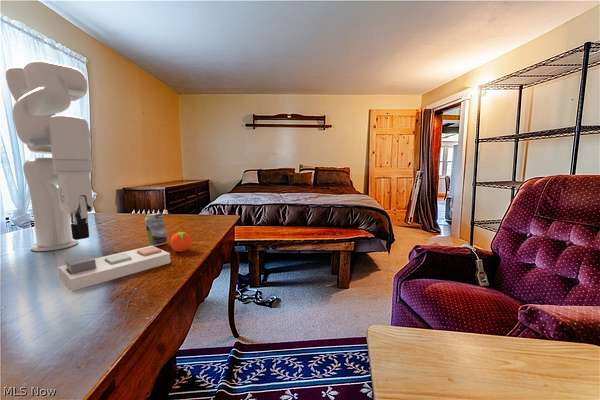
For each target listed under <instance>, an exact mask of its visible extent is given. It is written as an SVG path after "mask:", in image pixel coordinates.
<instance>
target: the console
mask: <svg viewBox="0 0 600 400" xmlns="http://www.w3.org/2000/svg"><path fill="white" fill-rule="evenodd" d="M149 247H153V246H152V245H149V246H144V247H141V248H135V249H131V250H126V251H122V252H118V253H113V254H109V255H106V256H105V255H103V256H100V257H95V258H94V259H95V263H96V269H92V270H88V271H84V272H80V273H76V274H72V275H70V274H69V273H68V272H67V267H66V264H65V265H60V266H58V267H57V268H58V274H59V275H58V276H59V278H60V280H61V279H62V280H63V281H62V280H61V281H62V282H63V283H64V284H65V286H67V287H68V288H69V290H70V291H71V290H72V292H73V291H77V290H81V289H84V288H88V287H91V286H95V285H99V284H101V283H104V282H108V281H111V280H116V279H119V278H122V277H125V276H129V275H134V274H136V273H139V272H143V271H146V270H149V269H153V268H157V267H160V266H163V265H167V264H171V252H168V251H165V250H163V249H161V252H160V253H156V254H152V255H148V256H142V255H140V254H138V253H137V250H140V249H144V248H149ZM122 253H125V254H127V255H129V256H131V260H128V261H124V262H120V263H116V264H112V265H110V264H109V263H107V262H106V261H105V257H109V256H114V255H118V254H122Z"/></svg>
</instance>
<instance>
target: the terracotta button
mask: <svg viewBox="0 0 600 400" xmlns="http://www.w3.org/2000/svg"><path fill="white" fill-rule="evenodd" d="M143 248H144V247H143ZM161 250H162V249H160V248H159V247H157V246H153V247H149V248H144V249H140V250H137V253H138V254H140V255H142V256H148V255H152V254H156V253H160V252H161Z"/></svg>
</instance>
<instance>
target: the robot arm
mask: <svg viewBox="0 0 600 400" xmlns="http://www.w3.org/2000/svg"><path fill="white" fill-rule="evenodd" d="M5 80H6V84H7V87H8V90H9V91H10V94H11V95H12V97H13V99H14V101H15V102H14V105H13V107H12V118H13V119H12V120H13V122H14V123H13V124H14V127H15V132H16V134H17V137H18V139H19V140H20V141H21V142H22V143H23V144H24V145H26V147H27V149H28V150H29V151H31V152H32V153H36V154H46V155H51V157H33V158H30V159H28V160H26V161H25V162H24V163H23V165H22V169H23V174H24V177H25V178H24V179H25V180H26V184H27V186H28V187H27V188H28V190H29V196H30V203H31V210H32V219H33V224H34V231H35V232H34V233H35V240H36V243H33V244H32V245H31V246H30V250H31V251H34V252H50V251H51V252H52V251H57V250H58V251H59V250H64V249H66V248H71V247H74V246H76V245H77V244H78V243H79V240H84V239H88V238H90V230H89V229H90V227H89V213H91V212H93V209H94V198H93V191H92V185H91V177H90V176H91V174H93V172H94V171H93V170H94V169H93V162H92V160H93V159H92V150H91V149H92V148H91V132H90V128H89V123H88V121H87V120H86V119H85V118H82V117H80V116H75V115H66V114H65V115H62V114H61V113H63V112H65V111H66V110H68V109H69V108H70V106H71V102H75V101H78V100H80V99H82V98H84V96H85V95H86V94H87V91H88V81H87V78H86V77H85V75H84V73H83V72H82V71H81V70H80V69H79V68H77V67H72V66H70V65H63V64H59V63H54V62H49V61H44V60H39V59H38V60H36V59H35V60H30V61H27V62H26V63H25V64H24V65H23V66H10V67H8V68H7V69H6V71H5ZM58 114H59V115H58Z"/></svg>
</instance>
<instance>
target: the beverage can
mask: <svg viewBox="0 0 600 400" xmlns="http://www.w3.org/2000/svg"><path fill="white" fill-rule="evenodd" d="M144 223H145V228H146V233H147V239H148V240H147V241H148V245H149V246H154V247H157V246H162V245H164V244H166V242H168V237H167V232H166V231H167V230H166V225H165V219H164V215H162V214H161V212H157V213H151V214H146V215H145V218H144Z"/></svg>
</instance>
